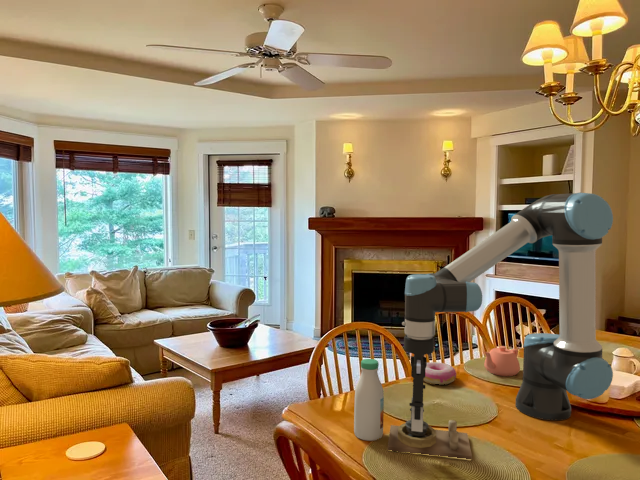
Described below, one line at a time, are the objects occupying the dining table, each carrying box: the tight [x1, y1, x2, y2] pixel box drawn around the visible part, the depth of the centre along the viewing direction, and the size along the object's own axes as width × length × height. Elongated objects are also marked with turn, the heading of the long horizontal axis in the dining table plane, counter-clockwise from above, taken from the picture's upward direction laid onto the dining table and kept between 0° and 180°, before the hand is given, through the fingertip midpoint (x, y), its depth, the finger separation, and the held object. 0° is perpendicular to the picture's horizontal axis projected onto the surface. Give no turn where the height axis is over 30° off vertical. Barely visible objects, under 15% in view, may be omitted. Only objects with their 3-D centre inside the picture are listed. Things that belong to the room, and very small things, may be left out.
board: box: [387, 419, 473, 460], centre depth 121 cm, size 20×12×5 cm, turn 78°
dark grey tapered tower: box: [405, 396, 430, 438], centre depth 121 cm, size 6×6×12 cm
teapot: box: [483, 345, 521, 377], centre depth 176 cm, size 12×18×10 cm
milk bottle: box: [353, 358, 385, 442], centre depth 125 cm, size 8×8×20 cm
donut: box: [423, 361, 457, 386], centre depth 168 cm, size 14×13×5 cm
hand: (417, 421), depth 121 cm, fingers open, 9 cm apart
